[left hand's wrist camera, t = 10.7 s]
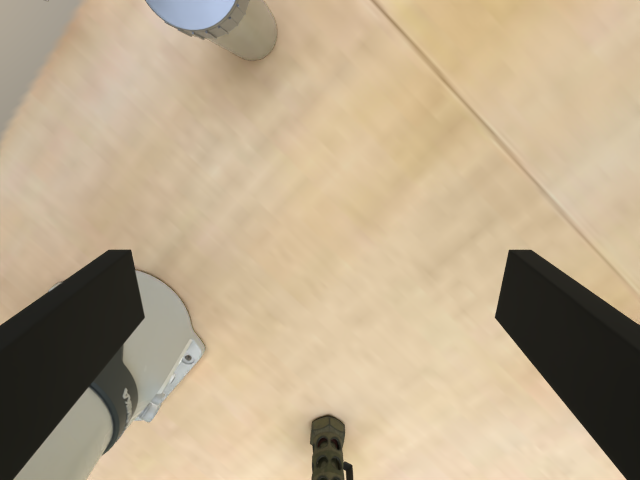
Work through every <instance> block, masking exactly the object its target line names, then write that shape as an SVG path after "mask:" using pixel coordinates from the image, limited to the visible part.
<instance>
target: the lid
mask: <svg viewBox="0 0 640 480" xmlns="http://www.w3.org/2000/svg"><path fill="white" fill-rule="evenodd" d="M145 1H146V2H147V4H148V5H149V6H150V8H151V9H152V10H153V11H154V12H155V13H156V14H157V15H158V16H159V17H160V18H161V19H163V20H164V21H165V23H166V24H168V25H170V26H172V27H174V28H176V29H178V30H179V31H181V32H183V33H185V34H187V35H189V36H191V37H192V36H195V37H199V38H201V39H203V40H204V38H214V39H217V37H220V36H223V35H225V34H227V35H228V34H229V33H228V32H230V31H231V30H233V29H234V28H235V27H236V26H237V27H238V26H239V25H238V24H239V22H240V21H241V20H242V18H243V16H244V15H246V10H247V7H248V4H249V1H250V0H145Z"/></svg>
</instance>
